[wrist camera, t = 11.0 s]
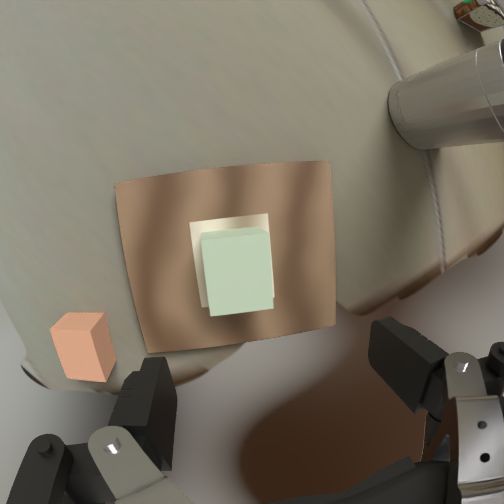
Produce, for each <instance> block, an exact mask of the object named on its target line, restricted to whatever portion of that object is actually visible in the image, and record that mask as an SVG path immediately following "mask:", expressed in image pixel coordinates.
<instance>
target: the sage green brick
mask: <svg viewBox="0 0 504 504" xmlns="http://www.w3.org/2000/svg"><path fill="white" fill-rule="evenodd" d="M201 246H202V255H203V263H204V271H205V279H206V287H207V295H208V302H209V309H210V316H219V315H227V314H236V313H244V312H252V311H259V310H266V309H273V308H274V307H273V288H272V271H271V255H270V239H269V233H268V232H266V231H265V230H263V229H262V228H260V227H249V228H238V229H228V230H218V231H209V232H202V237H201Z"/></svg>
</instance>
